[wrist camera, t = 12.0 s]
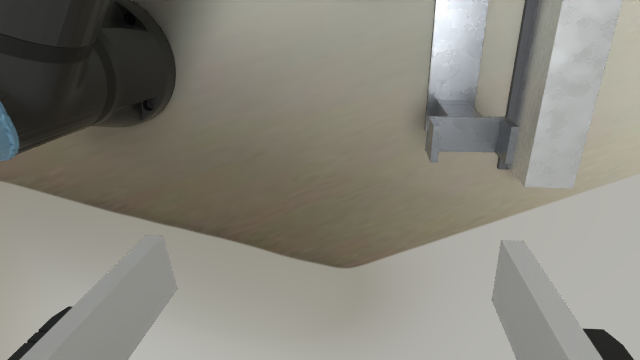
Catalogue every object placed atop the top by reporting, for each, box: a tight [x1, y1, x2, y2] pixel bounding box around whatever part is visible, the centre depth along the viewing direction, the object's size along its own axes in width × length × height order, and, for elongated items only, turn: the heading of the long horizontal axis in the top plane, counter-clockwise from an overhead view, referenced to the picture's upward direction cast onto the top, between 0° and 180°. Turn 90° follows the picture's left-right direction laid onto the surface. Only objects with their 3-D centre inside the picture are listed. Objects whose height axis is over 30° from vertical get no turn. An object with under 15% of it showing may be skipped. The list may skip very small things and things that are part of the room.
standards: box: [425, 0, 520, 164], centre depth 33 cm, size 7×20×12 cm, turn 2°
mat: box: [497, 0, 536, 169], centre depth 38 cm, size 6×27×1 cm, turn 2°
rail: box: [506, 0, 622, 188], centre depth 35 cm, size 4×26×6 cm, turn 2°
